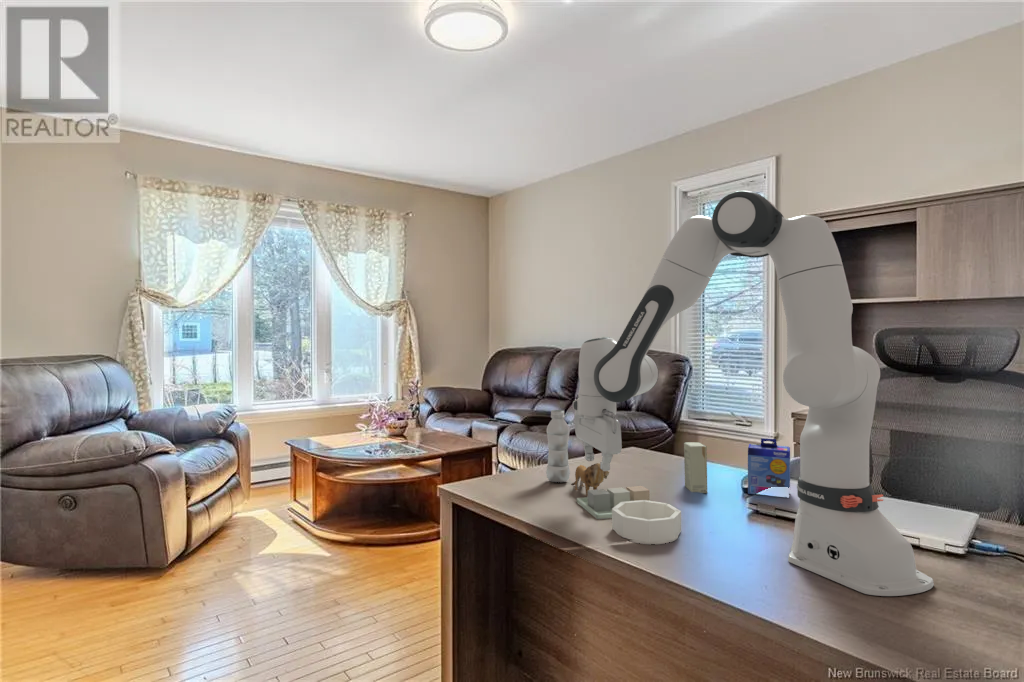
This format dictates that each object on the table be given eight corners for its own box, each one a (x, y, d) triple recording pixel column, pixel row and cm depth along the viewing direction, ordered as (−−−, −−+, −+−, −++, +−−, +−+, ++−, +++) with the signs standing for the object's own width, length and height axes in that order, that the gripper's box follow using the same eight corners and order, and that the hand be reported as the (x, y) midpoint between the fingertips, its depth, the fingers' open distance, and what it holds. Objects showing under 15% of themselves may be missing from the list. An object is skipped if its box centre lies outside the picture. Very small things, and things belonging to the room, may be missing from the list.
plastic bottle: (554, 477, 163) (553, 408, 163) (574, 481, 159) (573, 410, 159) (541, 482, 158) (541, 411, 158) (562, 486, 154) (562, 413, 154)
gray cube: (610, 510, 131) (610, 493, 131) (594, 512, 130) (593, 495, 130) (603, 505, 135) (603, 488, 135) (587, 507, 134) (587, 490, 134)
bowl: (691, 540, 113) (691, 516, 113) (631, 547, 110) (631, 523, 110) (659, 519, 126) (659, 498, 126) (604, 525, 123) (604, 503, 123)
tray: (663, 514, 129) (663, 508, 129) (597, 521, 125) (597, 515, 125) (637, 498, 142) (637, 492, 142) (576, 503, 138) (576, 498, 138)
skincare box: (708, 493, 145) (707, 446, 145) (691, 493, 145) (690, 446, 145) (700, 486, 152) (699, 441, 152) (683, 487, 152) (683, 441, 152)
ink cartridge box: (747, 494, 144) (746, 438, 144) (748, 489, 149) (748, 434, 149) (790, 499, 140) (790, 440, 140) (790, 493, 145) (790, 437, 145)
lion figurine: (612, 499, 142) (611, 463, 142) (594, 502, 139) (594, 466, 139) (579, 485, 155) (578, 452, 155) (562, 488, 152) (562, 455, 152)
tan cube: (649, 507, 133) (649, 490, 133) (634, 508, 133) (633, 491, 132) (641, 502, 137) (641, 485, 137) (626, 503, 136) (626, 487, 136)
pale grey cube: (630, 508, 132) (629, 491, 132) (614, 510, 131) (614, 493, 131) (622, 503, 136) (622, 487, 136) (607, 505, 135) (607, 488, 135)
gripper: (629, 412, 123) (628, 475, 123) (593, 400, 143) (593, 454, 143) (602, 413, 121) (601, 477, 122) (570, 401, 141) (570, 456, 142)
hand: (597, 465), depth 133 cm, fingers open, 8 cm apart
